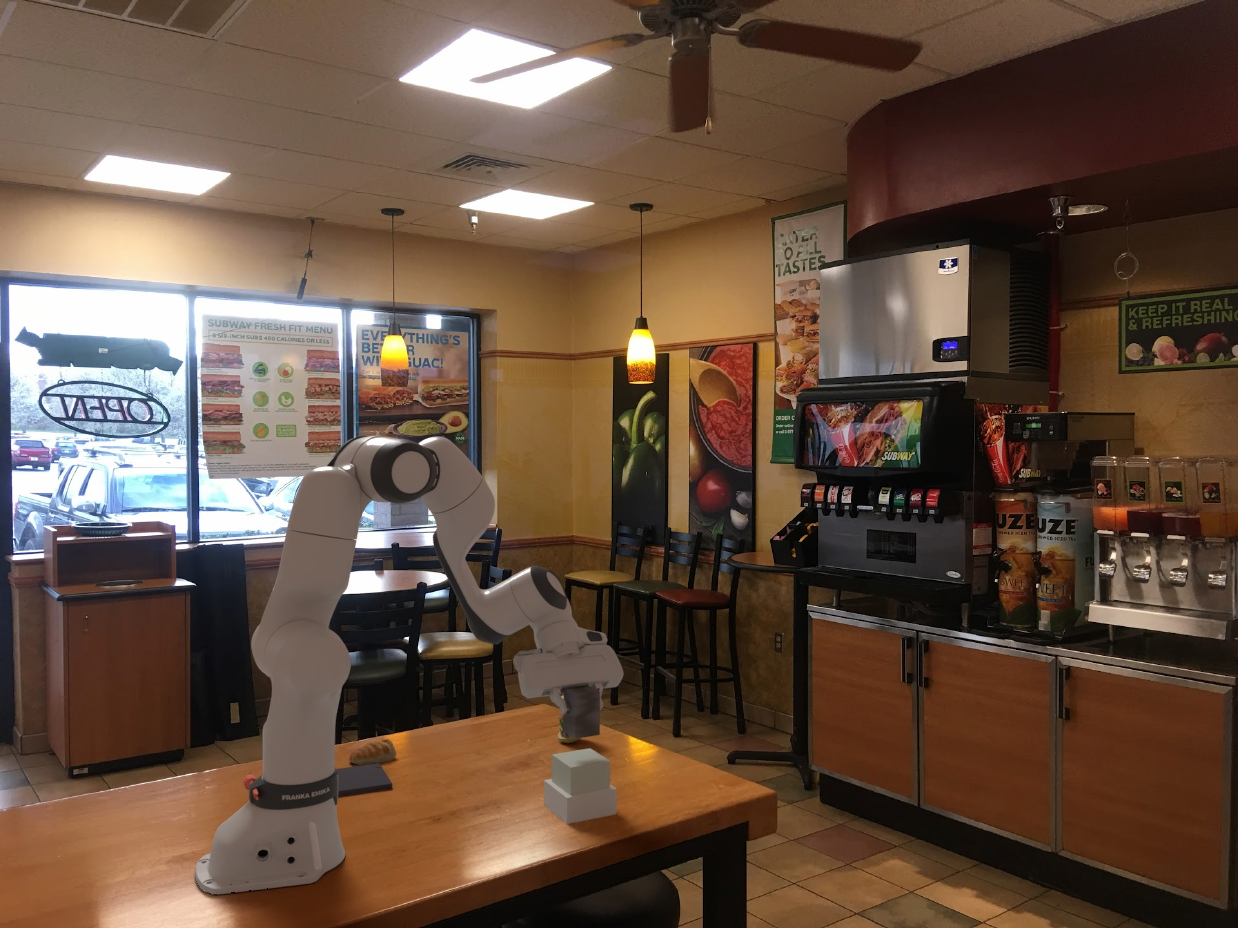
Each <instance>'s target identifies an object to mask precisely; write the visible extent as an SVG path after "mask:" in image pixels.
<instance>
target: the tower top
mask: <svg viewBox="0 0 1238 928" xmlns="http://www.w3.org/2000/svg"><path fill="white" fill-rule="evenodd" d="M551 779H552V782H553V783H555V784H556V785H557V786H559V787H560V788H561V789H563V790H564V791H565V792H567V793H568V794H569V795H575V794H580V793H586V792H591V791H596V790H602V789H607V788H610V784H611V760H609V758H606V757H605V756H603V755H602V754H601V753H599V752H597V751H596V750H593V748H584V749H577V750H572V751H571V750H570V751H565V752H558V753H552V754H551Z"/></svg>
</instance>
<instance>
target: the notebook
mask: <svg viewBox="0 0 1238 928" xmlns="http://www.w3.org/2000/svg"><path fill="white" fill-rule="evenodd" d="M335 769H336V770H337V775H338V797H343V796H350V795H356V794H357V795H359V794H363V793H371V792H372V793H373V792H378V791H385V790H391V789H393V783H392V781H391V779H390V778H389V776H388V775H387V773H386V771H385V770H384V768H383V766H382V765H381V764H380V763H376V764H365V765H356V766H348V767H339V768H335Z"/></svg>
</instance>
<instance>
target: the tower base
mask: <svg viewBox="0 0 1238 928" xmlns="http://www.w3.org/2000/svg"><path fill="white" fill-rule="evenodd" d="M617 793H618V791H617V788H616V787H615V786H614V785H612V784H611V783H610V788H607V789H602V790H596V791H591V792H586V793H580V794H575V795H569V794H568V793H567V792H565V791H564V790H563V789H561V788H560V787H559V786H557V785H556V784H555V783H553V782H552V778H550V779H544V780H543V807H545V808H547V809H548V810H549V811H550V812H551V813H552V814H554V815H555V816H556V817H558V818H559V819H560V820H561V821H562V822H564V823H565V824H566V825H570V824H574V823H578V822H584V821H585V822H586V821H591V820H595V819H599V818H604V817H609V816H615V815H617V813H618V811H617V802H618V800H617V799H618V798H617V796H618V795H617Z"/></svg>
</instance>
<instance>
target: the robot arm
mask: <svg viewBox="0 0 1238 928" xmlns="http://www.w3.org/2000/svg"><path fill="white" fill-rule="evenodd" d="M333 455H334V456H333V457H332V458H331V460H330V462H328V464H326V466H320V467H315V468H312V469H311V470H308V472H307V473H306V474H305V475H304V476H303V477H302V479H301V482H300V484H299V487H298V490H297V492H296V495H295V498H294V501H293V504H292V506H291V509H290V510H291V511H290V515H289V518H288V522H287V527H286V528H287V529H286V532H285V538H284V542H283V547H282V552H281V558H280V562H279V567H278V571H277V575H276V578H275V583H274V585H273V588H272V591H271V593H270V596H269V599H268V601H267V604H266V606H265V608H264V611H263V614H262V617H261V620H260V623H259V625H257V627H256V629H255V631H253V634H252V637H251V642H250V643H251V644H250V647H251V652H252V657H253V659H254V662H255V664H256V666H257V668H258V669H259V670H260V671H261V673H263V674H265V676H267V677H268V678H269V679H270V681H271V698H270V703H269V709H268V713H267V718H266V721H265V722H264V724H263V726H262V774H261V775H260V776H259V777H257V778H256V776H255V775H254V774H248V775H246V776H244V778H243V780H242V783H243V786H244V788H245V790H247V791H248V798H249V799H248V802H246V803H245V804H243V806H241V808H239V809H238V810H237V811H236V812H234V813H233V814H232V815H231V816H230V817H228V818H227V819H226V820H225V821H224V822H222V823H220V824H219V826H218V827H217V829H216V831H215V832H214V836H213V837H212V838H213V839H212V842H211V847H210V853H207V854H204V855H203V856H201V858H200V859H198V861H197V863H196V864H195V869H194V870H195V871H194V879H195V878H196V879H195V882H196V881H197V882H196V884H197V883H198V884H197V886H198V885H199V886H200V887H199V886H198V887H199V889H201V890H202V891H203V890H205V891H206V892H205V891H204V892H205V893H207V892H209V893H211V894H210V895H213V894H217V895H224V894H225V895H227V894H232V893H231V892H235V893H242V892H249V890H251V891H257V890H258V891H259V890H268V889H273V888H274V889H275V888H283V887H291V886H293V887H294V886H299V885H300V886H301V885H307V884H309V885H310V884H313V883H315V882H317V881H319V879H320V878H321V877H322V876H323V875H324V874H325V873H327V872H328V871H331V870H333V869H334V868H336V867H337V866H339V865H340V864H341V863H342V862H343V861H344V859H345V856H346V851H345V847H344V845H343V842H342V841H343V840H342V838H341V833H340V827H339V821H338V814H337V813H338V812H337V811H338V810H337V805H338V798H339V796H338V775H337V770H336V769H337V768H336V767H335V766H336V764H335V763H336V762H335V761H336V749H335V748H336V723H337V722H336V720H337V713H338V709H339V704H340V700H341V693H342V690H343V689H342V688H343V686H344V685H345V683H346V682H347V680H348V678H349V675H350V671H351V666H352V661H351V660H352V659H351V655H350V652H349V650H348V648H347V646H346V644H345V643H344V642H343V640H342V639H341V637H340V636H339V634H337V633H336V632H334V631H333V630H332V629H330V628H329V626H330V622H331V619H332V618H333V614H334V612H335V610H336V607H337V605H338V602H339V601H340V599H341V597H342V596H343V594H344V593H345V592H346V591H347V589H348V587H349V582H350V578H351V573H352V567H353V560H354V556H355V551H356V545H357V539H358V535H359V534H358V533H359V528H360V527H359V526H360V520H361V518H362V515H363V513H364V511H365V510H366V508H367V507H368V505H370V503H371V502H372V501H373V502H379V503H388V504H389V503H391V504H392V503H393V504H399V505H400V504H406V503H411V502H413V501H416V500H417V499H420V498H421V500H422V502H423V503H424V505H425V506H426V507H427V509H428V511H429V512H430V513H431V515H432V516H433V518H434V521H435V526H436V529H435V531H434V532H433V535H432V543H433V548H434V551H435V553H436V557H437V559H438V561H439V563H440V566H441V567H442V570H443V572H444V574H445V576H446V578H447V580H448V583H449V585H450V586H451V589H452V590H453V592H454V594H455V596H456V599H457V601H458V602H459V604H460V607H461V609H462V611H463V613H464V616H465V618H466V621H467V624H468V627H469V629H470V631H471V633H472V634H473V635H474V637H475V638H476V640H478V641H480V642H482V643H487V644H491V645H498V644H500V643H501V642H503V641H504V640H507V639H508V638H509V637H511V636H512V635H513V634H515V633H516V632H518V631H520V630H522V629H524V628H526V627H527V626H530V628H531V629H532V631H533V639H534V643H535V646H536V648H535V649H530V650H520V651H518V652H517V653H516V654H515V655H514V656H513V658H512V662H513V665H514V669H515V670H516V671H517V676H518V683H519V688H520V692H521V695H522V696H524V697H525V698H526V699H535V698H540V697H541V698H543V697H549V699H550V700H551V702H552V703H554V704H555V706H556V707H558V708H559V709H560V710H561V711H560V710H559V711H560V713H561V714H562V715H564V714H570V712H571V711H572V707H571V706H570V701H566V702H565V700H564V699H563V698H562V697H561V696H562V695H564V688H571V687H579V686H586V685H588V686H590V687H592V688H594V689H596V690H598V691H600V710H602V709H603V707H604V702H603V699H602V695H603V692H604V689H609V688H617V687H618V686H619V684H620V683H621V682H622V680H623V678H624V669H623V667H622V664H621V662H620V660H619V658H618V656H617V654H616V652H615V650H614V649H613V648H612V647H611V646H610V645H608V644H607V642H608V638H607V635H606V633H604V632H600V631H595V630H591V629H586V628H583V627H580V626H578V623H577V621H576V620H575V619H574V617H573V613H572V612H573V611H572V607H571V604H570V603H571V602H570V601H569V598H568V595H567V593H566V590H565V588H564V586H563V583H562V581H561V580H560V578H559V577H558V576H557V574H556V573H555V572H554V571H552V570H550V569H548V568H545V567H541V566H539V565H531V566H528V567H526V568H525V569H522V570H521V571H518V573H517V572H516V573H515V574H513V575H511V576H510V577H509V578H507V579H505V580H503V581H501V582H500V583H498V584H496V585H494V586H492V587H490V588H487V589H482V588H480V587H479V585H478V583H477V581H476V578H475V577H474V574H473V573H472V570H471V568H470V565H468V562H467V560H466V557H467V555H468V553H469V552H470V550H471V549H472V547H473V546H474V545H475V544H476V543H477V542H478V540H479V539H480V538H481V537H482V536H483V535H484V534H485V533H486V531H487V530H488V528H489V526H490V524H491V522H492V519H493V518H494V514H495V510H496V509H495V508H496V504H495V503H496V501H495V500H496V499H495V496H494V494H493V492H492V490H491V488H490V486H489V485H488V483H487V481H486V480H485V477H483V476H482V474H481V473H480V471H479V470H478V469H477V468H476V466H475V465H474V464H473V462H472V461H471V460H470V459H469V458H468V456H467V455H466V454H464V452H463V451H462V450H461V449H460V448H459V447H458V446H457V445H455V444H454V442H452V441H451V440H450V439H448V438H446V437H443V436H438V435H437V436H432V437H427V438H425V439H423V440H421V441H419V442H415V441H413V440H411V439H406V438H396V437H392V436H389V435H379V434H378V435H360V436H356V437H353V438H350V439H349V440H347V441H345V442H344V443H343V444H342V445H340V447H339V448H338V450H337V451H336V452H335V454H333ZM267 888H268V889H267ZM209 893H208V894H209Z"/></svg>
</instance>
